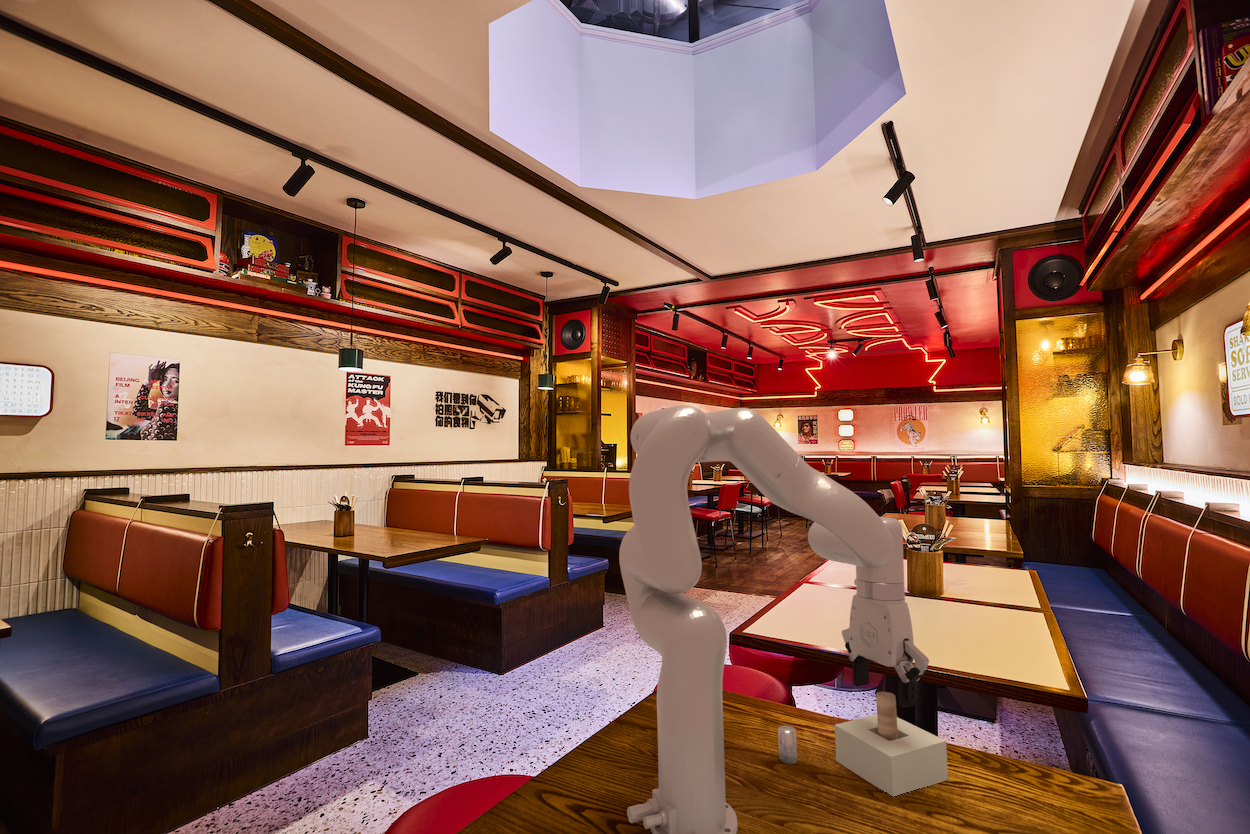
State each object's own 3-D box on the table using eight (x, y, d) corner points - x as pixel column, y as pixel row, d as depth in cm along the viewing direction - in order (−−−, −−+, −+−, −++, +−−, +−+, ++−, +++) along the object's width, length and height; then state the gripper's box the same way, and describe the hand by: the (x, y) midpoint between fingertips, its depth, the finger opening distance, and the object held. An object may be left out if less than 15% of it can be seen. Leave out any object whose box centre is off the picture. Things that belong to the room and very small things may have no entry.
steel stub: (786, 765, 98) (785, 734, 98) (775, 757, 100) (774, 727, 101) (800, 761, 99) (799, 731, 99) (789, 753, 102) (788, 724, 102)
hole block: (893, 797, 88) (891, 756, 88) (836, 760, 99) (834, 724, 99) (948, 779, 92) (946, 740, 93) (888, 746, 103) (886, 711, 104)
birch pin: (890, 776, 94) (886, 700, 95) (876, 767, 96) (872, 693, 97) (903, 772, 95) (899, 696, 96) (889, 763, 98) (885, 690, 99)
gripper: (826, 582, 104) (828, 680, 103) (906, 603, 88) (910, 719, 87) (858, 579, 107) (860, 674, 106) (941, 599, 91) (945, 711, 90)
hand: (883, 694), depth 96 cm, fingers open, 9 cm apart
